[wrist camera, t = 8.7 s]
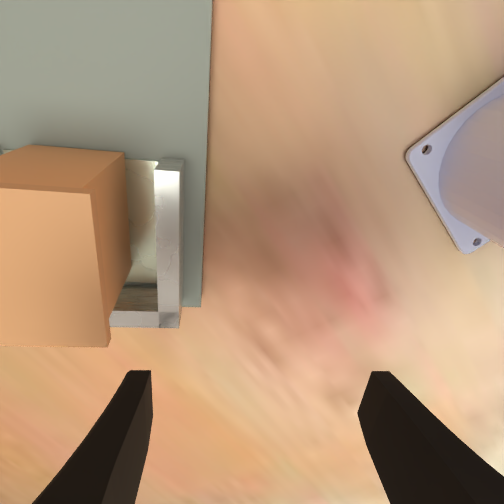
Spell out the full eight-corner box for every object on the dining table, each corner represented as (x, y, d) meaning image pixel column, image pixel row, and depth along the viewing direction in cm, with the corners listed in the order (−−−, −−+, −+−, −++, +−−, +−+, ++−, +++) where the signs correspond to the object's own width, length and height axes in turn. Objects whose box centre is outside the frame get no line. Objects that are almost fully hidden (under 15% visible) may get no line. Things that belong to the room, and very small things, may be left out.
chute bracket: (-26, 141, 15) (-68, 153, 13) (184, 158, 16) (179, 171, 14) (13, 294, 19) (-14, 324, 16) (183, 299, 20) (178, 328, 17)
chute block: (19, 143, 15) (-91, 181, 10) (133, 153, 16) (89, 194, 10) (42, 263, 18) (-33, 345, 12) (139, 267, 18) (107, 347, 13)
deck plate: (-90, -80, 12) (-119, -93, 11) (214, -34, 14) (213, -43, 13) (8, 289, 20) (-4, 301, 19) (201, 295, 21) (200, 307, 20)
